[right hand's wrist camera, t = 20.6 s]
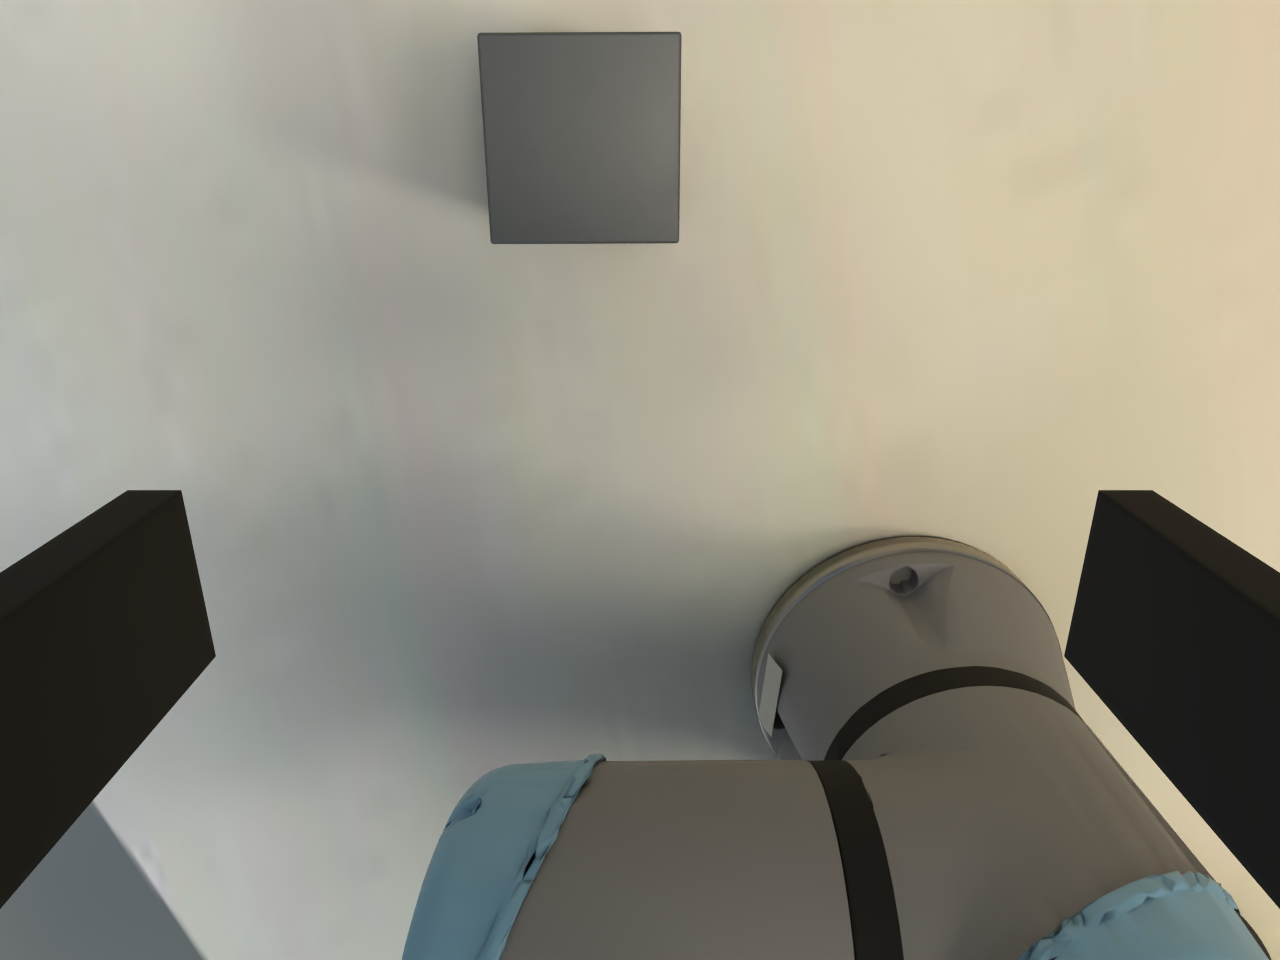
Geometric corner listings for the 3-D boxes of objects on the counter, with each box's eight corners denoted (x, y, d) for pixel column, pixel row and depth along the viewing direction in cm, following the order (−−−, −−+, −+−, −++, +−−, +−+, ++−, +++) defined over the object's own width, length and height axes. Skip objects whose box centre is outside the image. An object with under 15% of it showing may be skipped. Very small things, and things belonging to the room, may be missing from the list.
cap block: (669, 221, 36) (678, 243, 27) (529, 221, 36) (490, 244, 27) (670, 66, 34) (681, 31, 25) (521, 66, 34) (476, 32, 25)
